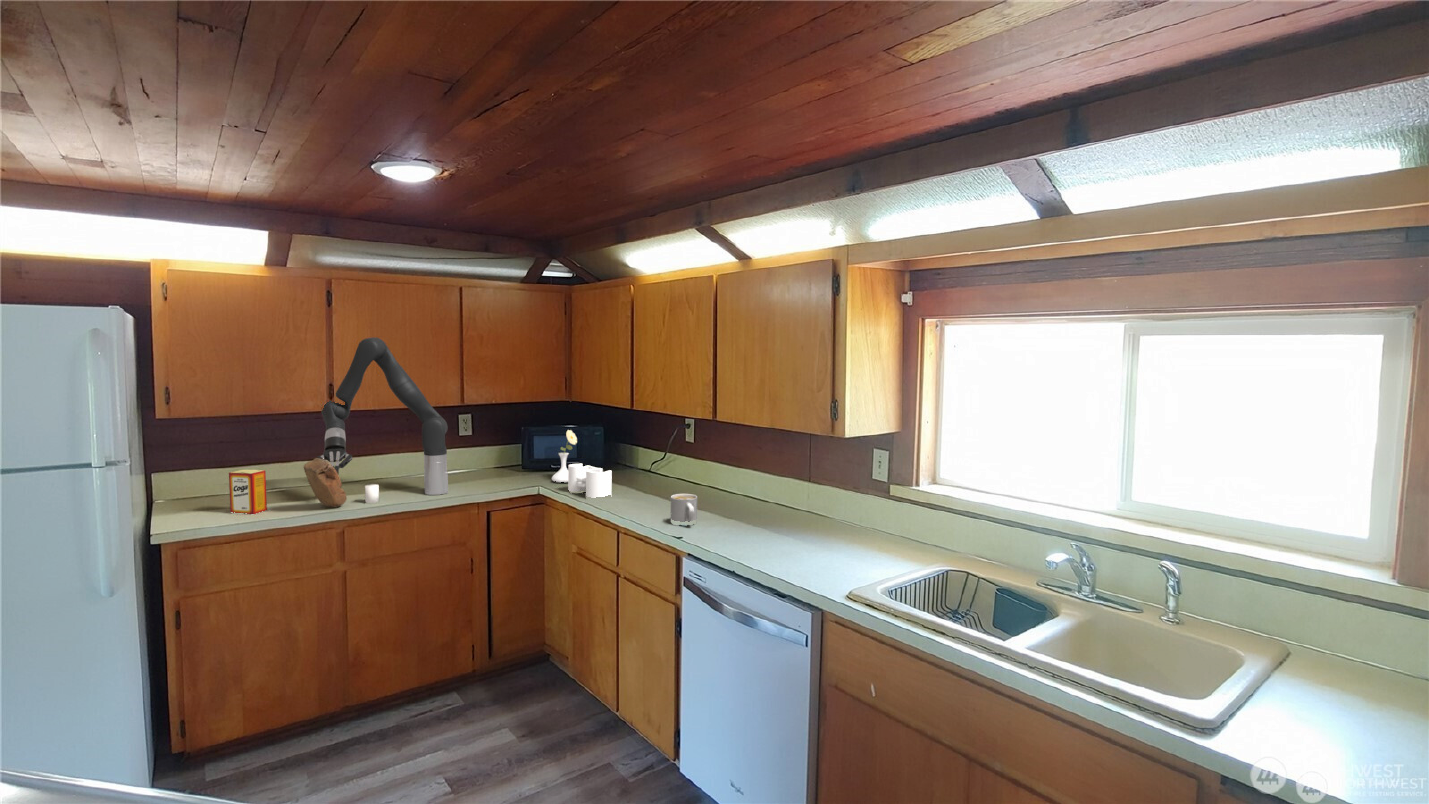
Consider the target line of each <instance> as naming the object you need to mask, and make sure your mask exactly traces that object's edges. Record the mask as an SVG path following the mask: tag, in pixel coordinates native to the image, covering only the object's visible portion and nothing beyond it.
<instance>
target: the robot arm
mask: <svg viewBox="0 0 1429 804" xmlns="http://www.w3.org/2000/svg"><path fill="white" fill-rule="evenodd" d="M356 347H357V348H356V350H355V353H354V356H353V359H352V361H351V364H350V367H349V369H348V371H347V373H346V375H344V378H343V380H342V381H341V383H340V385H339V386H338V388H337V390H336V392H335V397H336V398H338V399H339V400H340V401H342V402H343V403H344V402H345V405H341V404H342V403H340V402H337V403H335V402H336V401H334V402H332V401H333V400H328V401H329V402H327V401H326V402H327V403H326V404H325V405H324V408H323V410H322V411H321V416H322V419H323V423H324V424H325V434H324V451H323V453H322V455H318V456H316V458H319V459H322V460H325V461H327V462H329V463H330V464H331V465H332V466H333V467H334V468H335V470H336V471H337V473H338V475H339V476H340V474H339V473H340V472H339V471H340V469H344V468H345V467H346V466H347V465H348V464H349V463H350V462H351V461H353V455H352V454H349V453H348V452H347V450H346V449H347V448H346V445H347V444H346V442H347V441H346V440H347V439H346V423H345V420H346V419H348V418H349V416H350V413H351V407H352V404H353V401H354V398H355V397H356V395H357V393H358V392H359V390H360V388H361V385H362V383H363V380H364V379H363V378H364V375H365V372H366V371H367V368H369V366H370V365H371V364H372V362H373V361H374V362H375V364H377V366H378V367H380V369H381V371H382V372H383V374H384V376H385V379H386V381H387V385H388V387H389V389H390V390H391V391H392V393H393V394H394V396H395V397H396V398H397V399H398V400H399V402H401V404H403V405H404V406H405V407H406V408H408V409H409V410H411V412H413V413H414V414H415V415H416V416H417V418H418V419H419V420H420V422H421V423H422V426H421V427H422V428H421V440H422V444H421V445H422V450H423V471H424V473H423V476H424V477H423V480H424V488H423V489H424V494H425V495H428V496H439V495H444V494H449V473H448V453H447V451H448V449H447V447H446V434H447V432H448V430H449V429H448V427H449V426H448V423H447V421H446V420H445V418H443V417H442V415H440V414H439V412H437V410H436V409H435V408H434V407H433V406H432V405H431V403H430V402H429V401H428V400H427V398H426V397H425V395H424V394H423V392H422V391H421V389H420V387H419V386H418V385H417V384H416V383H415V382H414V381H413V379H412V378H411V377H410V375H409V374H408V373H407V372H406V371H405V369H404V368H403V367H402V365H400V363H399V362H398V361H397V359H396V358H395V356H394V355H393V353H392V352H391V350H390V348H389V347H388V345H387V344H386V342H385V341H384V340H383V339H381V338H380V337H375V336H374V337H366V338H364V339H362V340H361V341H360V342H359V343H358V345H357V346H356ZM339 403H340V404H339Z"/></svg>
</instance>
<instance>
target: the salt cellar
mask: <svg viewBox="0 0 1429 804" xmlns="http://www.w3.org/2000/svg"><path fill="white" fill-rule="evenodd" d="M379 488H380V486H379V484H378V483H377V484H376V483H371V484H366V485H364V495H365V496H364V498H365V500H364V502H366V503H374V504H377V503H376V502H378V503H379V502H380V489H379ZM366 503H365V504H366Z"/></svg>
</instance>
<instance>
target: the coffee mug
mask: <svg viewBox="0 0 1429 804" xmlns="http://www.w3.org/2000/svg"><path fill="white" fill-rule="evenodd" d="M671 519H672V520H674V521H680V522H685V521H688V522H690V521H693V520H696V519H697V520H698V496H697V495H696V494H692V493H691V494H690V493H676V494H672V495H671V496H670V520H671Z"/></svg>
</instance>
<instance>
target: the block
mask: <svg viewBox="0 0 1429 804" xmlns="http://www.w3.org/2000/svg"><path fill="white" fill-rule="evenodd" d="M334 467H335V466H334ZM334 467H333V466H332V465H331V464H330V462H329V461H327V460H326V459H324V460H322V459H319V458H317V457H315V458H313V460H311V461H310V460H309V461H308V462H306V463H304V464H303V471H304V473H305V476H306V478H307V481H308V483H309V486H310V488H311V490H312V492H313V494H314V495H315V496H314V497H316V499H317V500H318V501H319V503H320V504H322V505H323V506H325V507H331V508H337V507H341V506H343V504H345V503H346V502H347V494H346V491H345V490H344V489H343V487H342V486H343V484H342V481H341V478H340V474H339V475H338V473H337V471H336V470H335V468H334Z"/></svg>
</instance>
